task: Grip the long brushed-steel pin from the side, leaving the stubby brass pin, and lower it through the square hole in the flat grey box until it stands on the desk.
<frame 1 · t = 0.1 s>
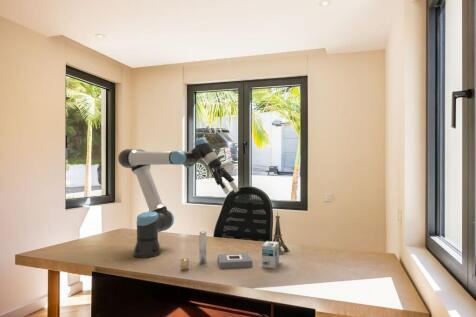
hand: (232, 192, 178), 35 cm above the table, tool tilted 35°, fingers open, 13 cm apart
light bulb box: (270, 265, 161), on the table
brass pin: (184, 269, 154), on the table
flat grey box: (234, 263, 163), on the table
steel pin: (203, 263, 164), on the table
eiffel tower: (277, 252, 185), on the table
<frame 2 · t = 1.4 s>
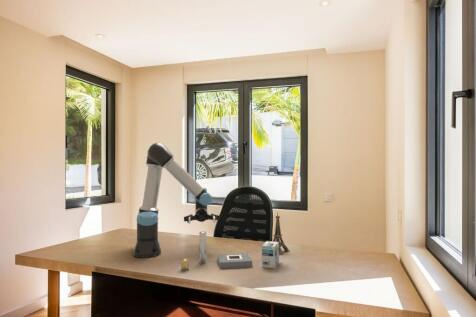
hand: (202, 220, 174), 20 cm above the table, tool horizontal, fingers open, 13 cm apart
nothing on the table moved.
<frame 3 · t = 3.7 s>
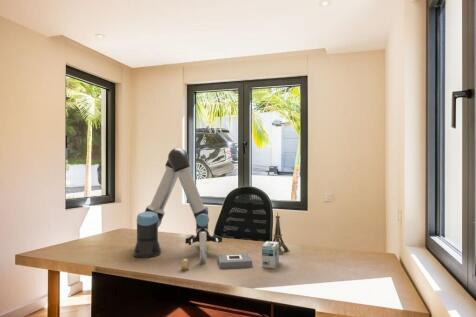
hand: (204, 243, 168), 9 cm above the table, tool horizontal, fingers open, 13 cm apart
nothing on the table moved.
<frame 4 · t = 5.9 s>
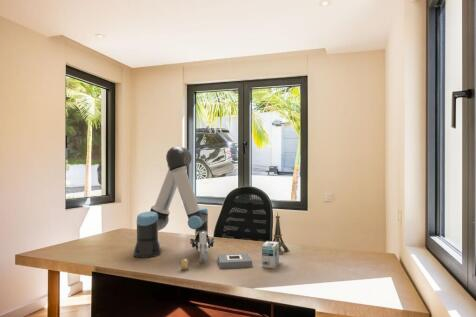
hand: (203, 248, 159), 9 cm above the table, tool horizontal, fingers closed on steel pin, 3 cm apart
steel pin: (203, 263, 164), on the table, touching gripper
everything else where it was.
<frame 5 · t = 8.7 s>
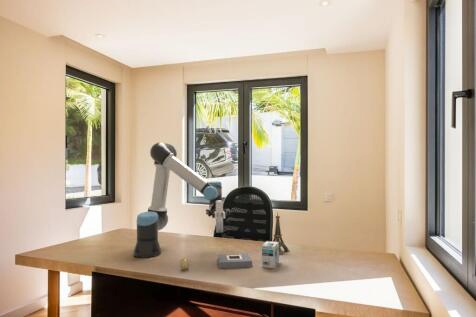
hand: (220, 215, 159), 25 cm above the table, tool horizontal, fingers closed on steel pin, 3 cm apart
steel pin: (219, 231, 164), point 16 cm above the table, touching gripper
everything else where it was.
when the fingers open (9 cm above the table, at t = 11.7 s): steel pin stays where it is, resting in flat grey box.
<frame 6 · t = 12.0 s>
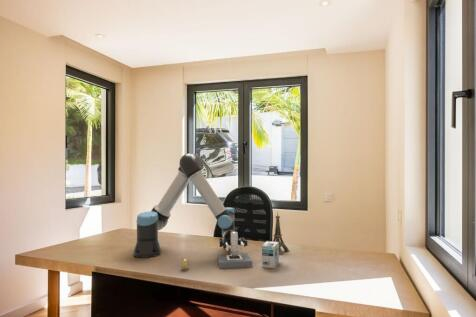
hand: (235, 247, 159), 9 cm above the table, tool horizontal, fingers open, 7 cm apart
steel pin: (234, 263, 163), resting in flat grey box
everything else where it was.
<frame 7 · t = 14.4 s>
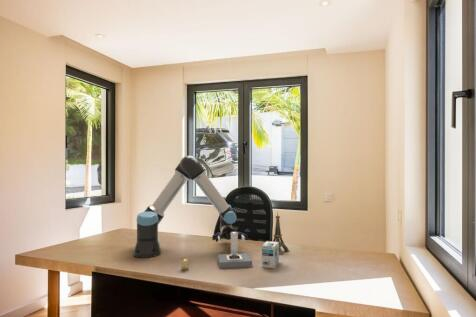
hand: (231, 240, 174), 9 cm above the table, tool horizontal, fingers open, 13 cm apart
nothing on the table moved.
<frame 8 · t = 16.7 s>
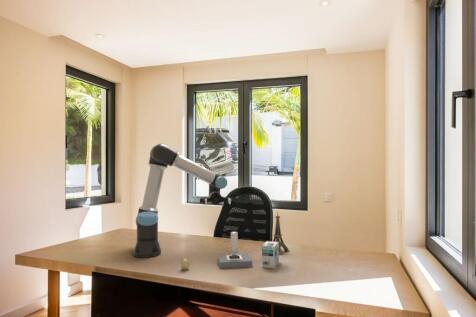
hand: (218, 201, 178), 30 cm above the table, tool horizontal, fingers open, 13 cm apart
nothing on the table moved.
at the end: steel pin 0.0 cm off-centre on the flat grey box, point 0.0 cm above the flat grey box's base; steel pin tilted 0°; brass pin moved 0.0 cm from its start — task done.
